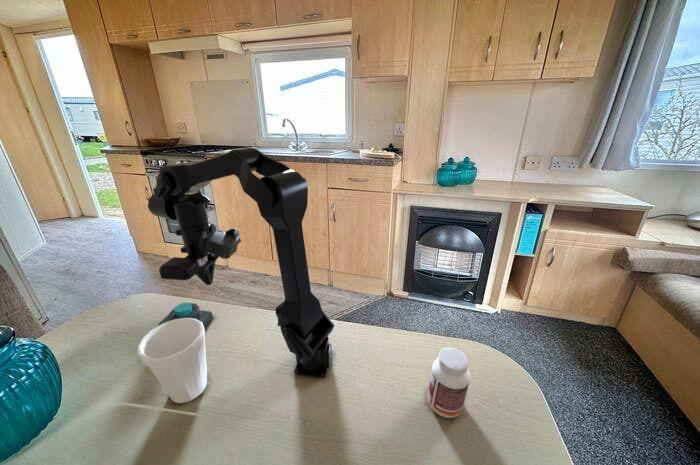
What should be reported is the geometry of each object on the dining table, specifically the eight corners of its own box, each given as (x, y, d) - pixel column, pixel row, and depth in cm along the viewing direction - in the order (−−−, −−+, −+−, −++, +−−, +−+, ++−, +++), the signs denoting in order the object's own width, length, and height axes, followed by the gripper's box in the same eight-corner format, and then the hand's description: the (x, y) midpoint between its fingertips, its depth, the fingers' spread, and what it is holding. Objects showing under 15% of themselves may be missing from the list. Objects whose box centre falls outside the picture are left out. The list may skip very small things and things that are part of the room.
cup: (229, 374, 56) (216, 324, 50) (187, 423, 47) (167, 368, 42) (190, 361, 59) (175, 312, 53) (145, 404, 50) (121, 351, 45)
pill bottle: (469, 408, 50) (482, 364, 45) (445, 426, 47) (456, 381, 42) (443, 381, 54) (452, 339, 50) (419, 396, 52) (427, 352, 47)
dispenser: (159, 331, 66) (155, 318, 65) (178, 313, 72) (174, 301, 71) (198, 336, 65) (194, 322, 64) (214, 317, 71) (210, 305, 70)
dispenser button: (172, 317, 66) (170, 311, 65) (182, 307, 69) (181, 301, 69) (186, 318, 66) (184, 312, 65) (195, 308, 69) (194, 303, 68)
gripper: (202, 243, 50) (219, 312, 56) (249, 210, 67) (258, 266, 73) (146, 240, 51) (169, 308, 57) (206, 208, 68) (219, 264, 74)
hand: (209, 284), depth 66 cm, fingers closed
